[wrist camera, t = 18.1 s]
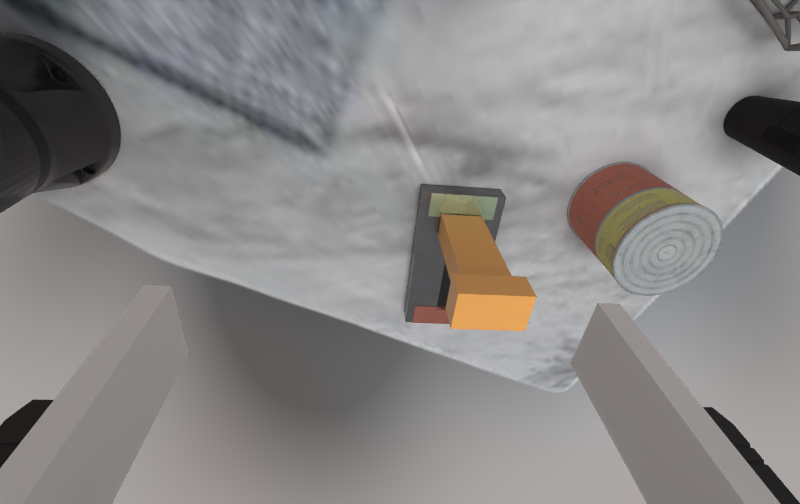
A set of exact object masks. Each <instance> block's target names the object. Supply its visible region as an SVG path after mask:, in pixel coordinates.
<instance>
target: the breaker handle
mask: <svg viewBox="0 0 800 504" xmlns="http://www.w3.org/2000/svg"><path fill="white" fill-rule="evenodd" d="M438 238H439V242H440V245H441V249H442V253H443V256H444V260H445V263H446V267H447V271H448V274H449V278H450V281H451V283H450V288H449V293H448V298H447V303H446V311H447V315H448V319H449V323H450V328H451V329H481V330H512V331H525V329H526V326H527V323H528V320H529V318H530V315H531V312H532V309H533V306H534V303H535V300H536V295H535V293H534V291H533V289H532V288H531V286H530V284H529V282H528V280H527V278H526V277H517V276H511V274H510V272H509V270H508V268H507V266H506V264H505V262H504V260H503V258H502V256H501V254H500V252H499V250H498V248H497V246H496V244H495V242H494V240H493V238H492V236H491V234H490V232H489V230H488V228H487V226H486V224H485V222H484V220H483V218H482V217H481V216H464V215H448V214H441V220H440V226H439V232H438Z"/></svg>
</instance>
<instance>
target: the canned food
mask: <svg viewBox="0 0 800 504" xmlns="http://www.w3.org/2000/svg"><path fill="white" fill-rule="evenodd" d="M567 217H568V222H569V225H570V227H571V229H572V230H573V231H574V233H575V234H576V235H577V236H579V237H580V238H581V240H582V241H583V242H584V243H585V244H586V245H587V247H588V248H589V249H590V250H591V251H592V252H593V254H594V255H595V256H596V257H597V258H598V259H599V260H600V262H601V263H602V264H603V265H604V266H605V267H606V269H607V270H608V271H609V272H610V273H611V274H612V276H613V277H614V278H615V280H616V281H617V283H618V284H619V285H620V286H621V287H622V288H623V289H625V290H626V291H628V292H630V293H633V294H637V295H644V296H652V295H659V294H664V293H668V292H671V291H673V290H676V289H678V288H680V287H682V286H684V285H686V284H688V283H689V282H691V281H692V280H694V279H695V278H697V277H698V276H699V275H700V274H701V273H702V272H704V271H705V270H706V269H707V268H708V266H709V265H710V264H711V263H712V261H713V260H714V259H715V257H716V255H717V254H718V252H719V249H720V247H721V244H722V240H723V226H722V223H721V221H720V219H719V217H718V216H717V215H716V214H715V213H714V212H713V211H712V210H710V209H708V208H706V207H704V206H702V205H700V204H699V203H697V202H695V201H694V200H692V199H691V198H689V197H688V196H686V195H684V194H683V193H681V192H680V191H678V190H677V189H675V188H673V187H672V186H670V185H669V184H667V183H666V182H664V181H662V180H661V179H659V178H658V177H656V176H655V175H653V174H651V173H650V172H649V171H648V170H646V169H645V168H644V167H642V166H640V165H638V164H635V163H629V162H620V163H614V164H610V165H607V166H604V167H602V168H600V169H598V170H596V171H595V172H593V173H592V174H590V175H589V176H588V177H586V178H585V179H584V180H583V181H582V182H581V183H580V184H579V186H578V187H577V188H576V190H575V191H574V193H573V195H572V197H571V199H570V202H569V205H568V210H567Z"/></svg>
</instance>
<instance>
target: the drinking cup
mask: <svg viewBox="0 0 800 504" xmlns="http://www.w3.org/2000/svg"><path fill="white" fill-rule="evenodd" d="M724 130H725V133H726V134H727V135H728V136H730V137H731V138H733V139H735V140H737V141H738V142H740V143H742V144H744V145H746V146H747V147H749V148H751V149H753V150H755V151H756V152H758V153H760V154H762V155H763V156H765V157H767V158H769V159H771V160H772V161H774V162H776V163H778V164H780V165H781V166H783V167H785V168H787V169H789V170H790V171H792V172H794V173H796V174H797V175H799V176H800V102H796V101H789V100H782V99H775V98H768V97H761V96H750V97H747V98H744V99H742V100H741V101H739V102H738V103H736V104H735V105H734V106H733V107H732V108H731V109H730V111H729V112H728V114H727V116H726V118H725V121H724Z"/></svg>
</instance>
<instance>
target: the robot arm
mask: <svg viewBox="0 0 800 504" xmlns="http://www.w3.org/2000/svg"><path fill="white" fill-rule="evenodd" d="M119 145H120V128H119V123H118V119H117V115H116V112H115V110H114V107H113V105H112V103H111V101H110V99H109V98H108V96H107V94H106V93H105V91H104V90H103V88H102V87H101V85H100V84H99V83H98V82H97V80H96V79H95V78H94V77H93V76H92V75H91V74H90V73H89V72H88V71H87V70H86V69H85V68H84V67H83V66H82V65H81V64H80V63H78V62H77V61H76V60H75V59H73V58H72V57H71V56H69V55H68V54H66V53H65V52H63V51H62V50H60V49H58V48H56V47H55V46H53V45H51V44H49V43H46V42H44V41H42V40H39V39H36V38H33V37H30V36H26V35H21V34H15V33H0V213H1V212H2V211H4V210H6V209H7V208H9V207H11V206H12V205H14V204H15V203H17V202H19V201H20V200H22V199H23V198H25V197H27V196H28V195H30V194H32V193H34V192H42V191H49V190H57V189H64V188H71V187H75V186H79V185H81V184H84V183H87V182H89V181H90V180H92V179H94V178H95V177H97V176H98V175H100V174H101V173H103V172H104V171H105V170H106V169H108V168H109V167H110V165H111V164H112V163H113V161H114V160H115V158H116V156H117V153H118V150H119ZM187 355H188V351H187V347H186V342H185V338H184V334H183V330H182V326H181V322H180V318H179V314H178V310H177V306H176V301H175V298H174V293H173V289H172V286H154V285H144V286H143V287H142V288H141V290H140V291H139V292H138V293H137V295H136V296H135V297H134V299H133V300H132V301H131V302H130V304H129V305H128V306H127V307H126V309H125V310H124V311H123V313H122V314H121V315H120V316H119V318H118V319H117V320H116V322H115V323H114V324H113V325H112V327H111V328H110V329H109V330H108V332H107V333H106V334H105V335H104V337H103V338H102V339H101V341H100V342H99V343H98V344H97V346H96V347H95V348H94V349H93V351H92V352H91V353H90V355H89V356H88V357H87V358H86V360H85V361H84V362H83V364H82V365H81V366H80V367H79V369H78V370H77V371H76V372H75V374H74V375H73V376H72V378H71V379H70V380H69V381H68V383H67V384H66V385H65V386H64V388H63V389H62V390H61V392H60V393H59V394H58V396H57V397H56V398H55V399H54V400H32V401H31V402H29V403H28V404H26V405H25V406H24V407H22V408H21V409H20V410H18V411H17V412H16V413H14V414H13V415H12V416H10V417H9V418H7V419H6V420H5V421H4V422H3V423H2V425H1V426H0V504H112V503H113V501H114V499H115V497H116V495H117V493H118V491H119V489H120V487H121V485H122V483H123V481H124V479H125V477H126V475H127V473H128V471H129V469H130V467H131V465H132V463H133V461H134V460H135V457H136V456H137V454H138V452H139V450H140V448H141V446H142V444H143V442H144V440H145V438H146V436H147V434H148V432H149V430H150V428H151V426H152V424H153V422H154V420H155V418H156V416H157V414H158V412H159V410H160V408H161V406H162V405H163V403H164V401H165V399H166V397H167V395H168V393H169V391H170V389H171V387H172V385H173V383H174V381H175V379H176V377H177V375H178V373H179V371H180V369H181V367H182V365H183V363H184V361H185V359H186V358H187ZM571 364H572V366H573V368H574V370H575V372H576V374H577V376H578V377H579V379H580V381H581V383H582V385H583V387H584V388H585V390H586V392H587V394H588V396H589V398H590V399H591V401H592V403H593V405H594V407H595V409H596V411H597V412H598V414H599V416H600V418H601V420H602V422H603V423H604V425H605V427H606V429H607V430H608V433H609V435H610V436H611V438H612V440H613V442H614V444H615V446H616V447H617V449H618V451H619V453H620V455H621V457H622V459H623V460H624V462H625V464H626V466H627V468H628V469H629V471H630V473H631V475H632V477H633V479H634V481H635V483H636V484H637V486H638V488H639V490H640V492H641V494H642V495H643V497H644V499H645V501H646V503H647V504H800V503H799V502H798V500H797V499H796V498H795V497H794V496H793V494H792V493H791V492H790V491H789V490H788V489H787V487H786V486H785V485H784V484H783V483H782V481H781V480H780V479H779V478H778V477H777V476H776V474H775V473H774V472H773V471H772V470H771V468H770V467H769V466H768V465H765V464H764V460H763V459H762V458H761V457H760V455H759V454H758V453H757V452H756V451H755V449H754V448H751V447H750V444H749V442H748V441H747V440H746V439H745V438H744V436H743V435H742V434H741V433H740V432H739V431H738V429H737V428H736V427H735V426H734V425H733V424H732V423H731V422H730V421H728V420H727V419H726V418H725V417H723V416H722V415H721V414H720V413H718V412H717V411H716V410H715V409H713V408H712V407H710V408H709V407H702V406H701V404H700V403H699V402H698V401H697V400H696V398H695V397H694V396H693V395H692V393H691V392H690V391H689V389H688V388H687V387H686V386H685V385H684V383H683V382H682V381H681V379H680V378H679V377H678V376H677V375H676V373H675V372H674V371H673V370H672V368H671V367H670V366H669V365H668V363H667V362H666V361H665V360H664V358H663V357H662V356H661V355H660V354H659V352H658V351H657V350H656V348H655V347H654V346H653V345H652V343H651V342H650V341H649V340H648V339H647V337H646V336H645V335H644V333H643V332H642V331H641V330H640V328H639V327H638V326H637V325H636V324H635V322H634V321H633V320H632V319H631V317H630V316H629V315H628V314H627V312H626V311H625V310H624V309H623V307H622V306H621V305H620V304H604V303H598V304H597V306H596V308H595V310H594V313H593V315H592V317H591V319H590V322H589V324H588V326H587V328H586V330H585V333H584V335H583V337H582V339H581V342H580V344H579V346H578V348H577V351H576V353H575V355H574V357H573V359H572V362H571Z"/></svg>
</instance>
